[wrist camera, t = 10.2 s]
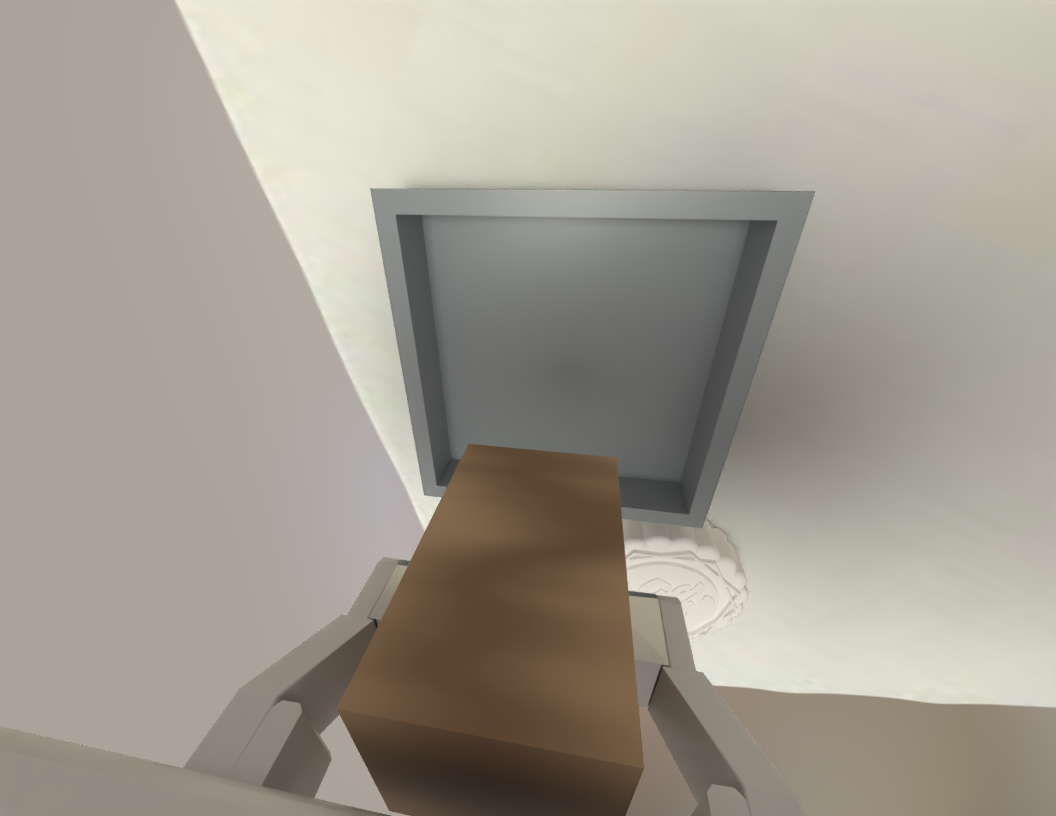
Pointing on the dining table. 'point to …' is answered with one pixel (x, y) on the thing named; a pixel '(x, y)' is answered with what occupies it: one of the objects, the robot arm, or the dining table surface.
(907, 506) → the dining table surface
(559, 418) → the tray
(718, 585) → the mooncake
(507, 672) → the walnut block
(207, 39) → the dining table surface
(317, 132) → the dining table surface
